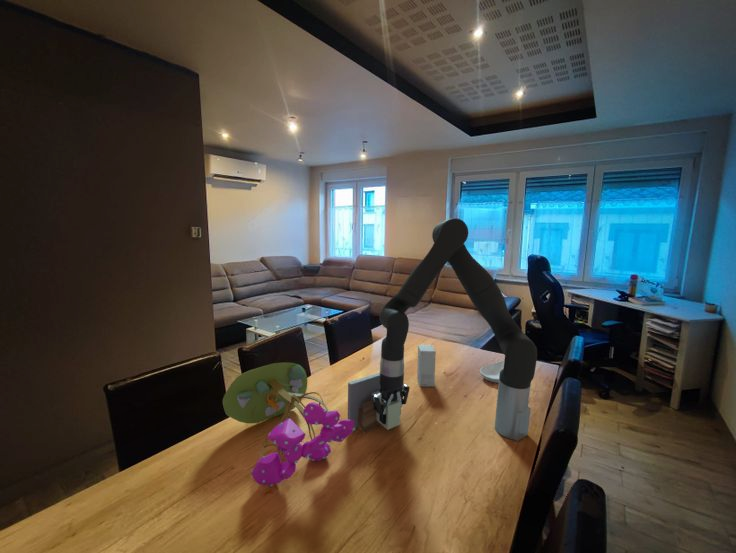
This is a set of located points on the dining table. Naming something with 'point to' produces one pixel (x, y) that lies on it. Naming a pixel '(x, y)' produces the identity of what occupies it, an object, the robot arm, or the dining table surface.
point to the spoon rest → (492, 371)
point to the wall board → (361, 394)
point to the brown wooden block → (367, 417)
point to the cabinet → (390, 414)
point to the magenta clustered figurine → (277, 396)
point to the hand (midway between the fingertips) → (390, 419)
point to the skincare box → (426, 365)
